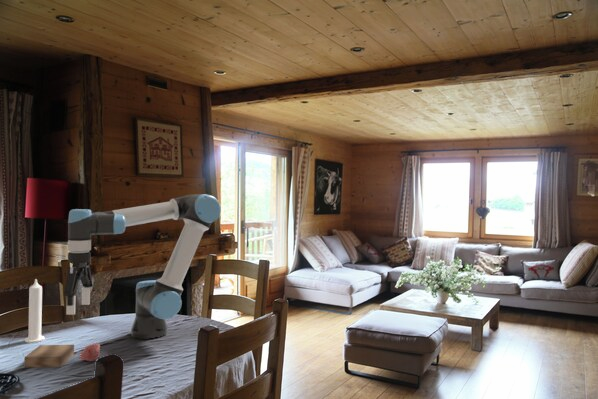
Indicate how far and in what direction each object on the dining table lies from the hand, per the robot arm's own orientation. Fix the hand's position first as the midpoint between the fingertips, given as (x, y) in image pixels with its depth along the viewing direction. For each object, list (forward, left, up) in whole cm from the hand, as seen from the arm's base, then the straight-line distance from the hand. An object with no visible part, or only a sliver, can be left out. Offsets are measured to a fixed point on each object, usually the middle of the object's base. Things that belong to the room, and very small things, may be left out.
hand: (78, 309), depth 163 cm
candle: (+24, -21, -18) cm, 37 cm away
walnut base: (+9, +2, -18) cm, 21 cm away
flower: (-5, +3, -18) cm, 19 cm away
